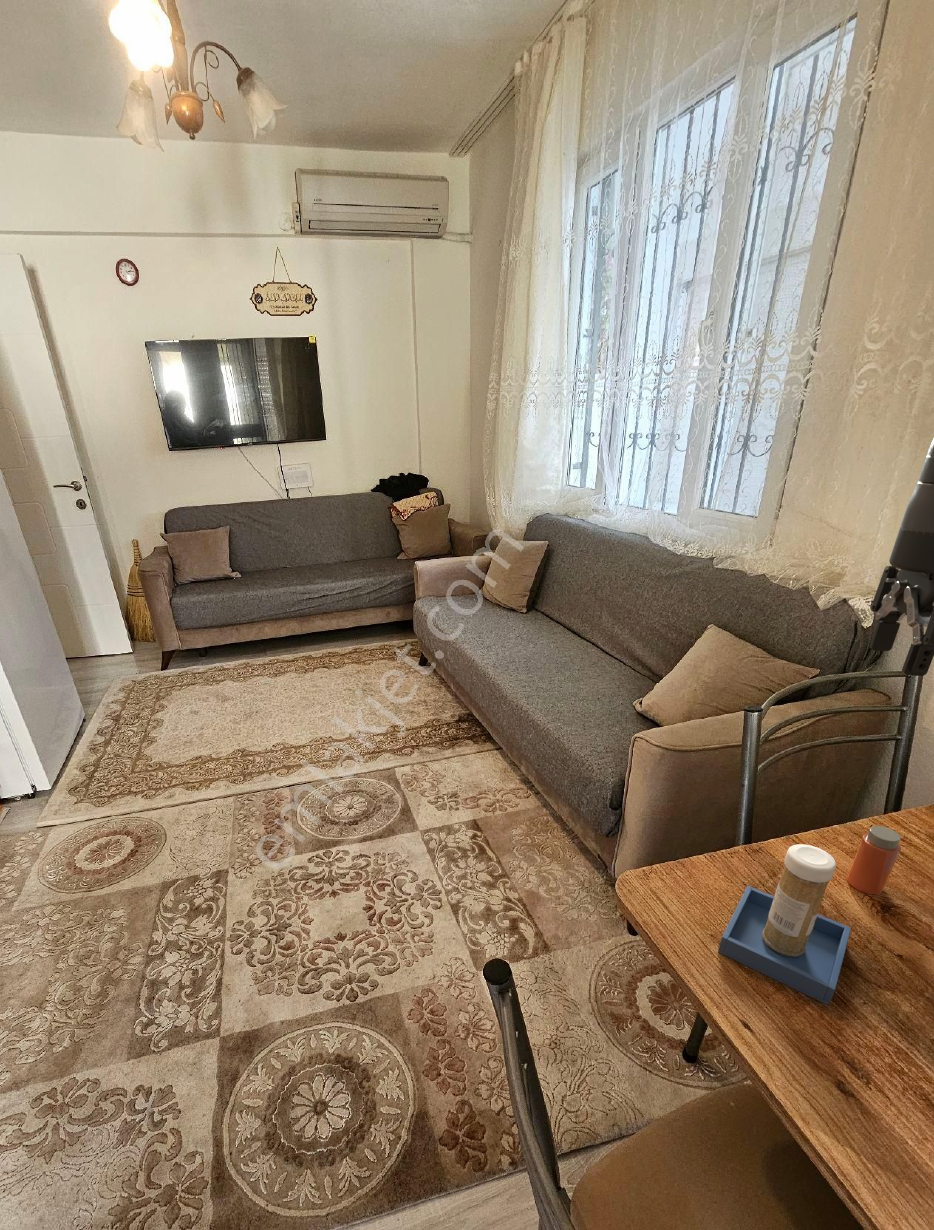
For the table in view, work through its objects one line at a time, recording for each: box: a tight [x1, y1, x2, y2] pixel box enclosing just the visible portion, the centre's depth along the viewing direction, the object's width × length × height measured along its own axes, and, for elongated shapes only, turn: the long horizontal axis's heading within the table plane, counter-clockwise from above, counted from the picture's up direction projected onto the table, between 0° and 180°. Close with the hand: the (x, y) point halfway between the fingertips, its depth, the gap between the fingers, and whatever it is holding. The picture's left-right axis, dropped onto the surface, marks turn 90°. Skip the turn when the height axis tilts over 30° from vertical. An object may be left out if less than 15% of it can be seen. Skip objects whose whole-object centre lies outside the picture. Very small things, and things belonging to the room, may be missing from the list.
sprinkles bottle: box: [762, 843, 837, 957], centre depth 67 cm, size 5×5×14 cm
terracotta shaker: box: [846, 825, 902, 895], centre depth 77 cm, size 4×4×9 cm
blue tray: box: [717, 885, 852, 1006], centre depth 69 cm, size 11×11×2 cm
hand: (895, 661), depth 71 cm, fingers open, 8 cm apart
